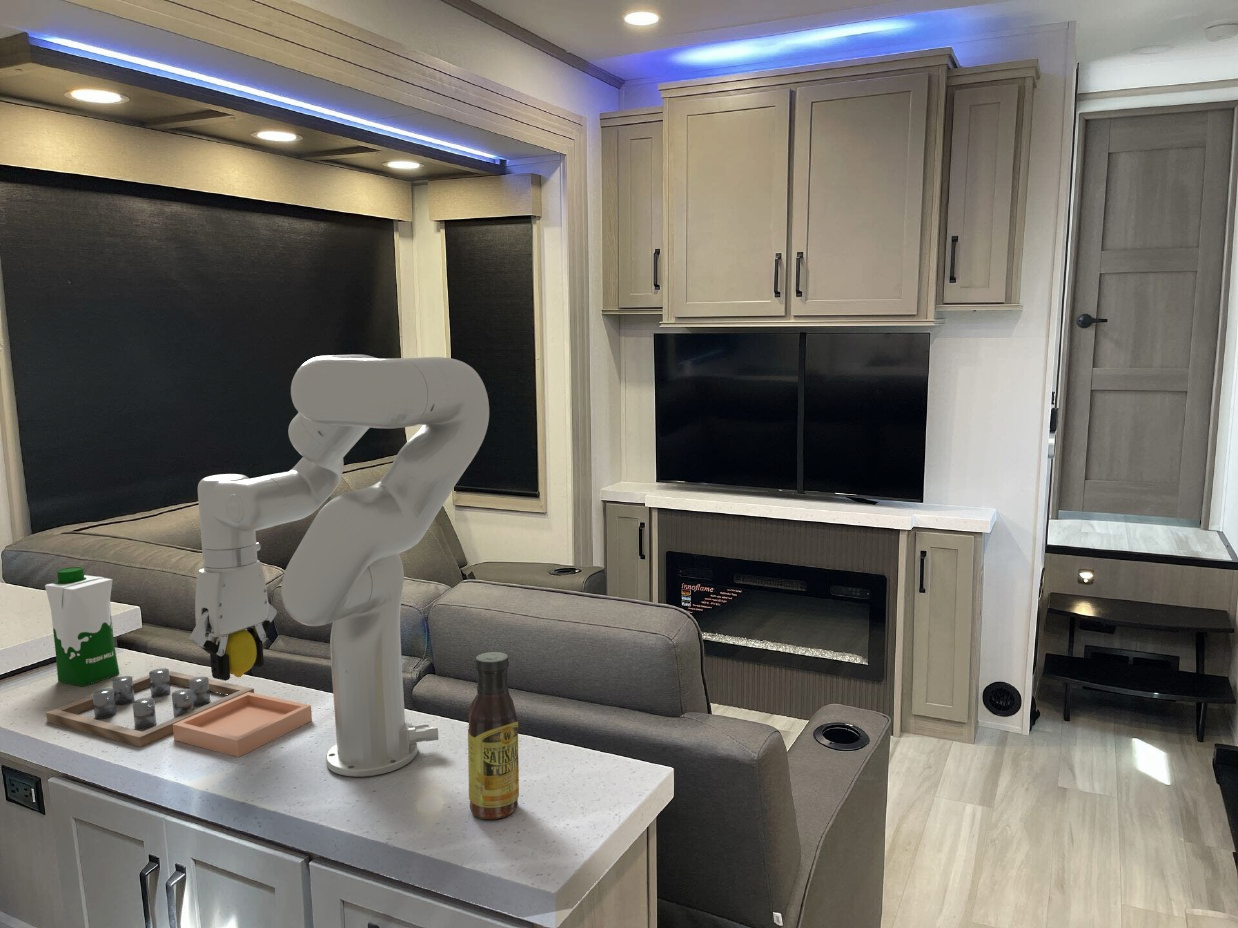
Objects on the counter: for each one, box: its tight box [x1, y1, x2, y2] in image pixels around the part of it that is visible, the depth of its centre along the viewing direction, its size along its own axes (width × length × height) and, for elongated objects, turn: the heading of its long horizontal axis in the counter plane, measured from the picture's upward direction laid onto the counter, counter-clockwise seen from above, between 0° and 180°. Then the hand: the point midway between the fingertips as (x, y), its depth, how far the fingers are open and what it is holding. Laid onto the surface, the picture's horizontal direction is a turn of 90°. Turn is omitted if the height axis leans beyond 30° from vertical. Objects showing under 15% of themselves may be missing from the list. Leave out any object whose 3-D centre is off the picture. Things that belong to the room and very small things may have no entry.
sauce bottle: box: [467, 651, 520, 820], centre depth 112 cm, size 7×6×20 cm
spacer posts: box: [92, 667, 211, 731], centre depth 148 cm, size 18×13×4 cm
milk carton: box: [44, 566, 120, 687], centre depth 162 cm, size 9×9×20 cm
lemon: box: [224, 629, 257, 678], centre depth 138 cm, size 6×6×8 cm
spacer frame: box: [45, 670, 255, 748], centre depth 148 cm, size 23×21×2 cm
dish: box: [172, 692, 313, 758], centre depth 139 cm, size 14×14×2 cm
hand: (238, 670), depth 138 cm, fingers closed on lemon, 5 cm apart
